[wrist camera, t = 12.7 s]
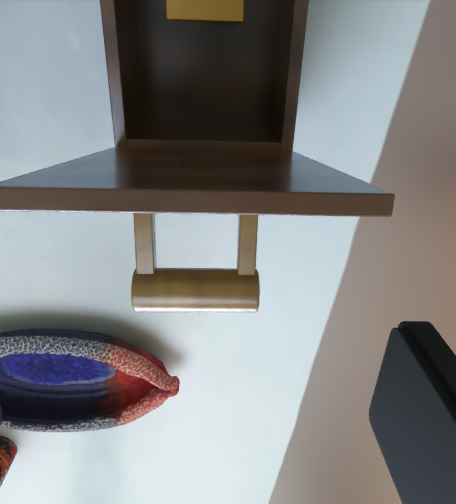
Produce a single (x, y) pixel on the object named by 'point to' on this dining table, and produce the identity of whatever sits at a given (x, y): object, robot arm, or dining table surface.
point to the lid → (195, 209)
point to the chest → (204, 76)
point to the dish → (77, 381)
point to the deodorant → (6, 456)
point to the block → (205, 11)
